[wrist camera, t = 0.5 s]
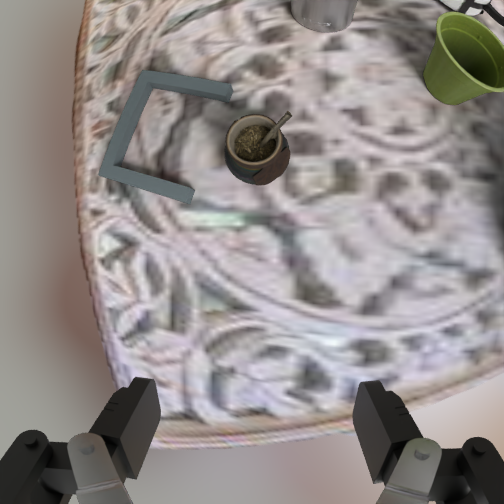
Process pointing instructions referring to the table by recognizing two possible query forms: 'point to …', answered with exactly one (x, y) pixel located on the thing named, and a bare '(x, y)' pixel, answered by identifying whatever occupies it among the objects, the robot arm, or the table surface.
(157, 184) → the frame
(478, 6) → the coffee press
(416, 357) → the table surface
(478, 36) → the plant pot
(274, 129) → the mate gourd
